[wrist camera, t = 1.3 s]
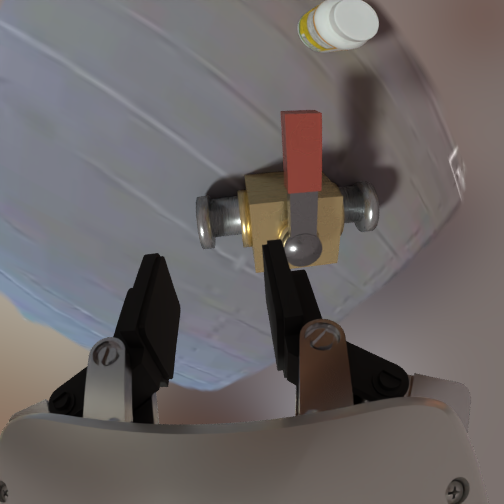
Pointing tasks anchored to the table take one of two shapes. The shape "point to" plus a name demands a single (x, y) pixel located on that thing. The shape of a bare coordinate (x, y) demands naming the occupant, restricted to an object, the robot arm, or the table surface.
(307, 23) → the supplement bottle
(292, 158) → the lever
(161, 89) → the table surface
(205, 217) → the valve
